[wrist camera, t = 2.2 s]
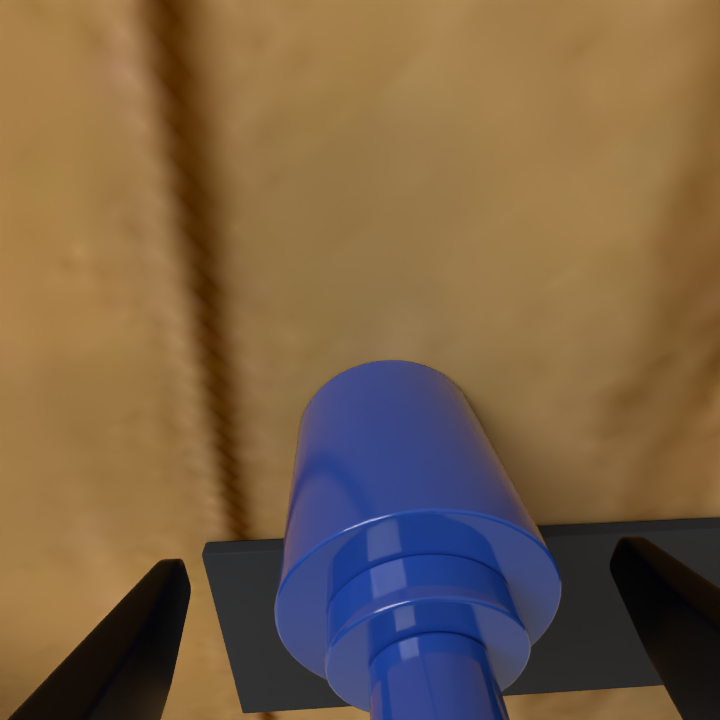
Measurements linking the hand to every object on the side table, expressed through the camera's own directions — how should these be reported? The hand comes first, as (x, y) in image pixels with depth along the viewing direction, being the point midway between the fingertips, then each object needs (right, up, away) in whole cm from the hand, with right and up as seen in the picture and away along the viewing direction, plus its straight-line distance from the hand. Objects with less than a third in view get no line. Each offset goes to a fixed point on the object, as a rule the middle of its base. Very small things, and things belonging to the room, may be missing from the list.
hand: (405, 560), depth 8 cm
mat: (+4, -6, +8) cm, 11 cm away
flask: (0, +2, +4) cm, 4 cm away
